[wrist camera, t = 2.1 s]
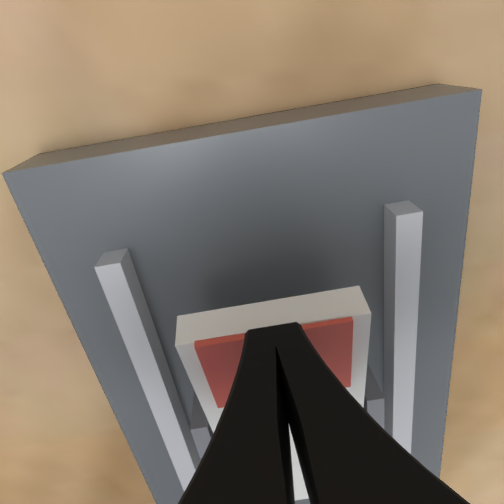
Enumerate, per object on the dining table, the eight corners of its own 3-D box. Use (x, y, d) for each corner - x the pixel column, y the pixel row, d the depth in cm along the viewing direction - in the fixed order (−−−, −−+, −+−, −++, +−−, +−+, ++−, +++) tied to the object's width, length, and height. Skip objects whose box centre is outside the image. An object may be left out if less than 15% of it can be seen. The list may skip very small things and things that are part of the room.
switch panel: (416, 454, 22) (459, 547, 18) (178, 492, 23) (168, 591, 18) (438, 83, 13) (537, 96, 9) (39, 153, 13) (-47, 198, 9)
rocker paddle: (352, 466, 18) (359, 494, 17) (242, 484, 18) (244, 512, 17) (362, 284, 10) (377, 316, 9) (173, 316, 10) (170, 351, 10)
